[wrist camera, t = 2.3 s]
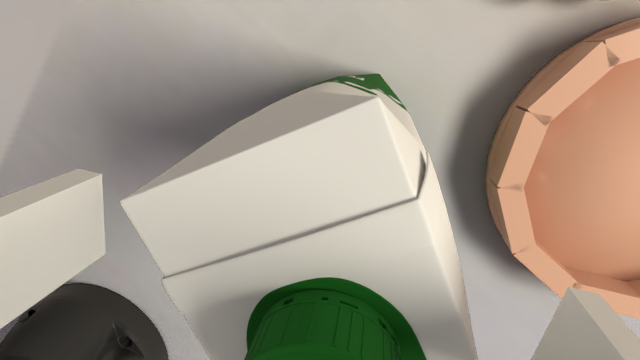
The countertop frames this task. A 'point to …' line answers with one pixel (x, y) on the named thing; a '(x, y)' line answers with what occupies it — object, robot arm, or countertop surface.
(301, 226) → the soya milk
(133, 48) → the countertop surface
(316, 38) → the countertop surface
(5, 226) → the robot arm
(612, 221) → the tray
